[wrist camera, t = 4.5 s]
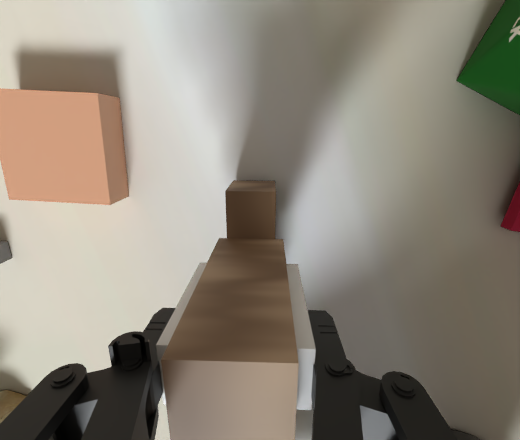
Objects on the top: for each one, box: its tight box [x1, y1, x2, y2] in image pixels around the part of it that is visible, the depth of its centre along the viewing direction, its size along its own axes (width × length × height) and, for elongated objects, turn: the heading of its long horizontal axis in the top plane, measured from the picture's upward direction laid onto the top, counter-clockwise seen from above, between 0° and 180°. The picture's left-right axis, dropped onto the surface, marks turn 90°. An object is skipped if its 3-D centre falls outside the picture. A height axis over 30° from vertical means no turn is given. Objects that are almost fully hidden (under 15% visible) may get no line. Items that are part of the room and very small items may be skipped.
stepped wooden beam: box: [161, 180, 299, 440], centre depth 16 cm, size 4×10×14 cm, turn 0°
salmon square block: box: [0, 89, 129, 205], centre depth 20 cm, size 7×7×3 cm
